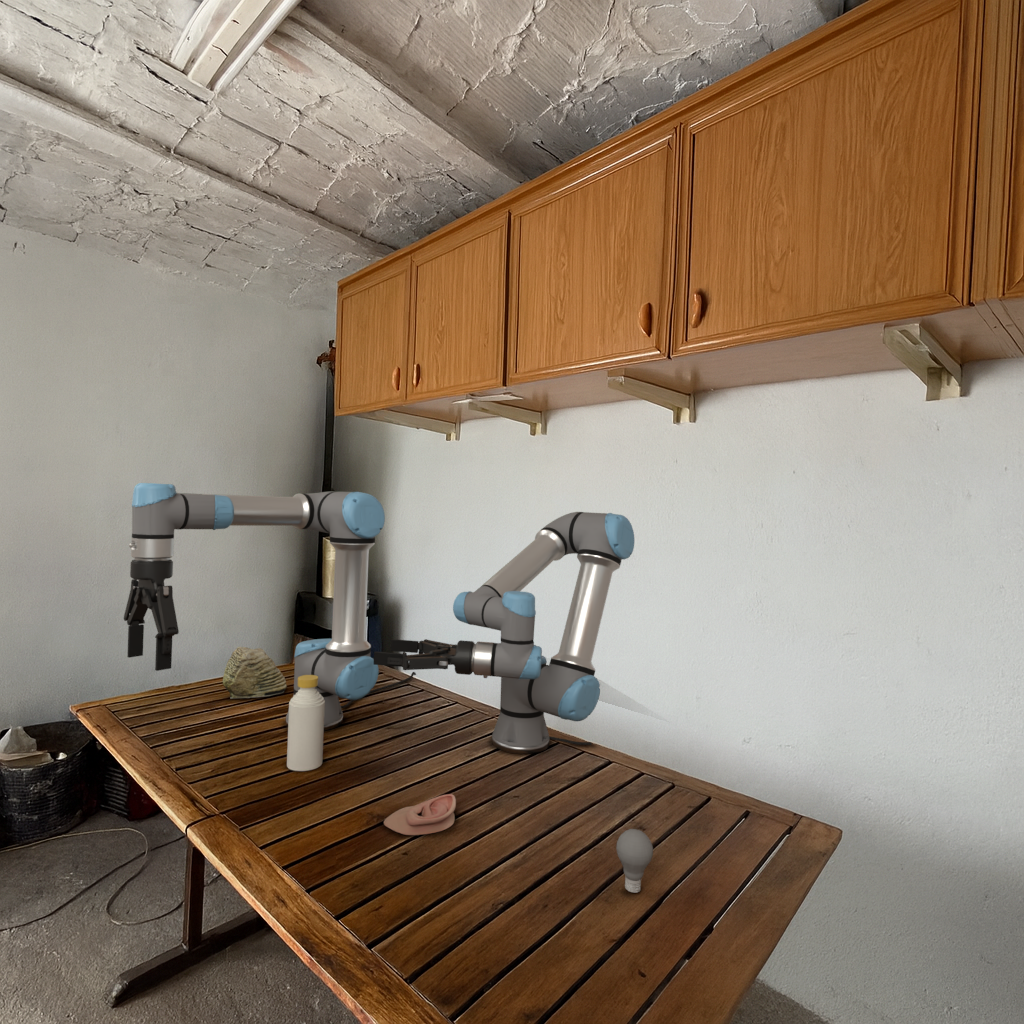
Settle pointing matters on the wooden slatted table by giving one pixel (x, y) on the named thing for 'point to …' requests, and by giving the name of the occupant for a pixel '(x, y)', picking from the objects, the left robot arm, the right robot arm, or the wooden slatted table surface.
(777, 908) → the wooden slatted table surface
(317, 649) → the left robot arm
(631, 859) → the light bulb
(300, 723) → the bottle
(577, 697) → the right robot arm
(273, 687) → the fossil
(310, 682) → the cap
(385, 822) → the anatomical model
